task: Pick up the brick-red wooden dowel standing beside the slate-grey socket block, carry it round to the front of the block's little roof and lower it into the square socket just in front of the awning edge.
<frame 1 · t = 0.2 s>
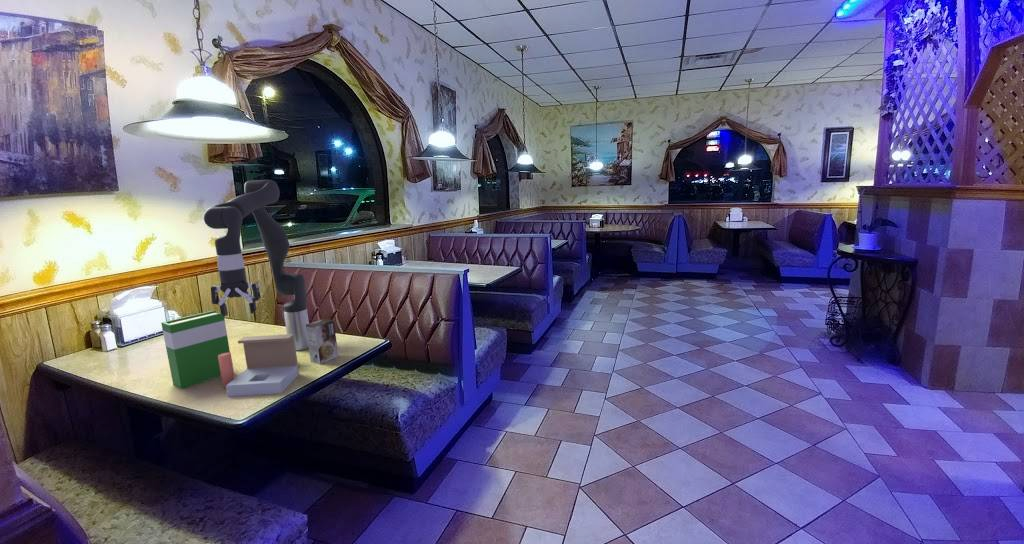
hand: (239, 314, 157), 28 cm above the table, fingers open, 8 cm apart
coffee box: (324, 360, 190), on the table
hardback book: (204, 378, 176), on the table
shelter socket: (265, 384, 167), on the table
peg: (229, 385, 168), on the table
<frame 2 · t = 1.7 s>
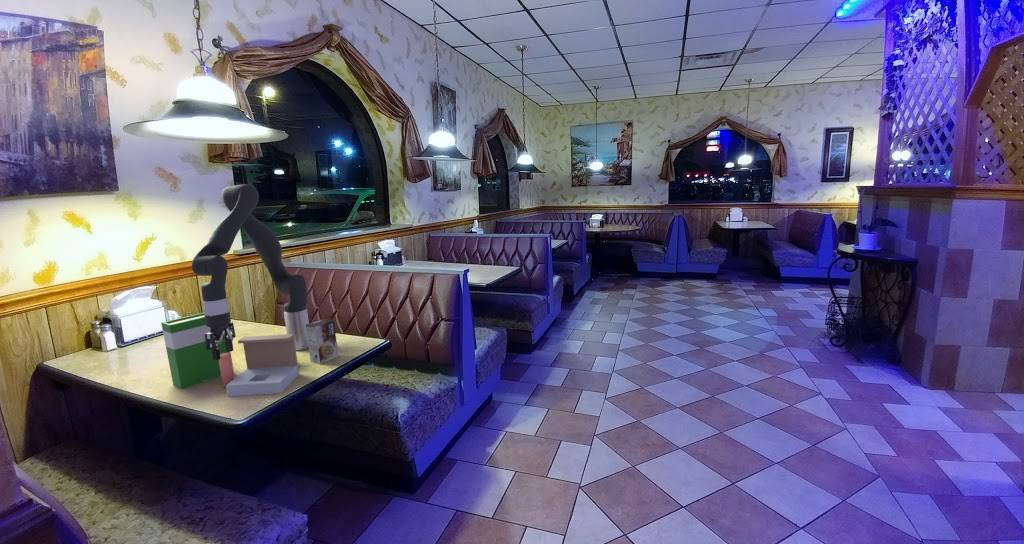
hand: (223, 355, 165), 12 cm above the table, fingers open, 8 cm apart
nothing on the table moved.
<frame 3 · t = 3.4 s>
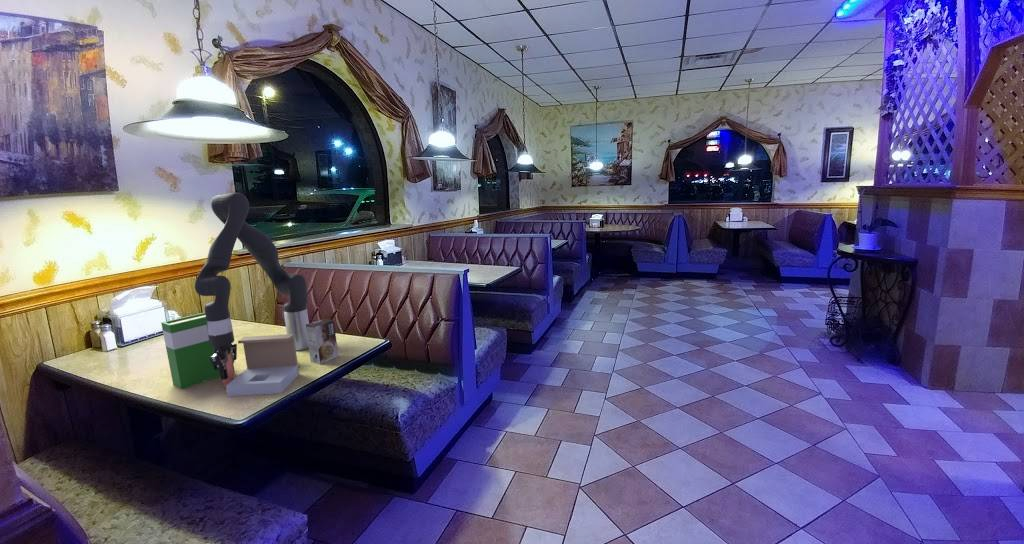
hand: (227, 376, 167), 4 cm above the table, fingers closed on peg, 4 cm apart
peg: (229, 385, 168), on the table, touching gripper
everything else where it was.
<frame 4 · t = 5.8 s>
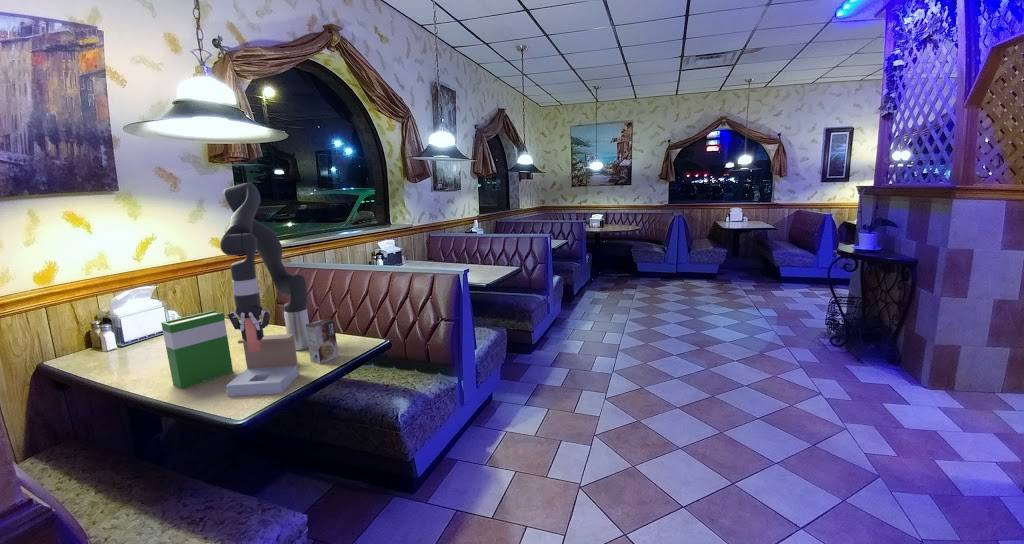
hand: (253, 339, 161), 18 cm above the table, fingers closed on peg, 4 cm apart
peg: (254, 350, 162), point 14 cm above the table, touching gripper
everything else where it was.
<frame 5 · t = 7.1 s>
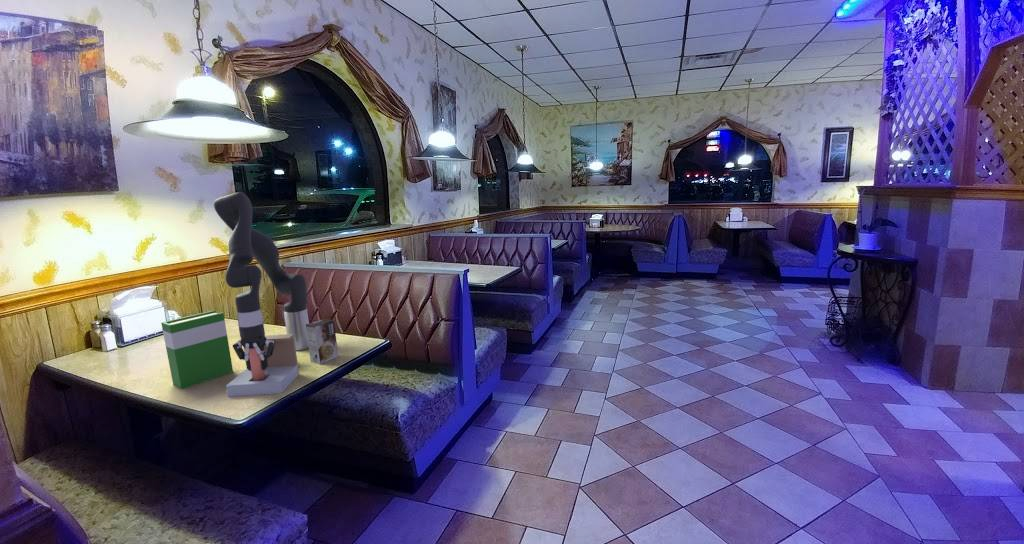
hand: (257, 369, 163), 7 cm above the table, fingers closed on peg, 4 cm apart
peg: (259, 379, 164), point 3 cm above the table, touching gripper
everything else where it was.
when the fingers open (6 cm above the table, at t = 8.1 s): peg drops 2 cm, resting in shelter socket.
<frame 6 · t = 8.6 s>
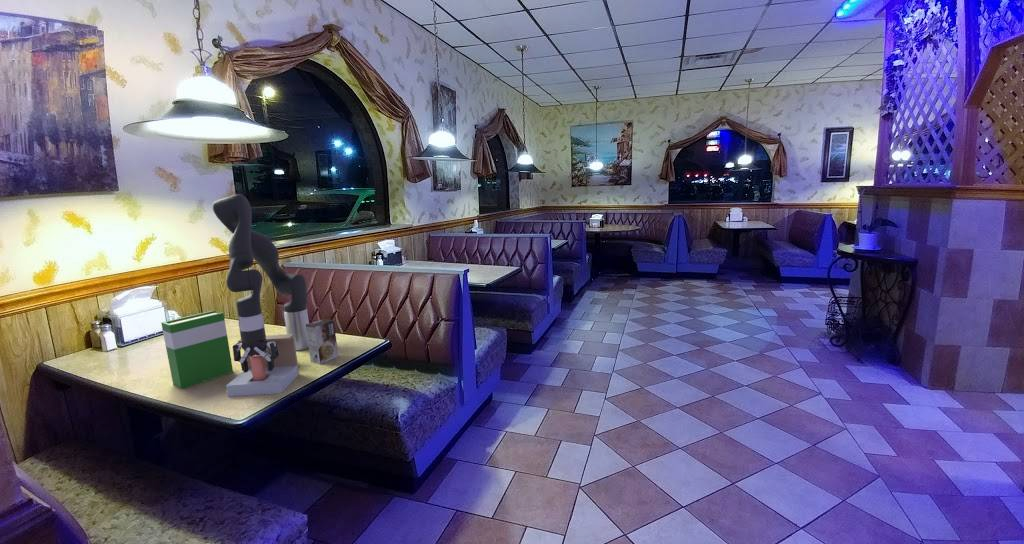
hand: (258, 371, 163), 7 cm above the table, fingers open, 8 cm apart
peg: (261, 388, 164), resting in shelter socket
everything else where it was.
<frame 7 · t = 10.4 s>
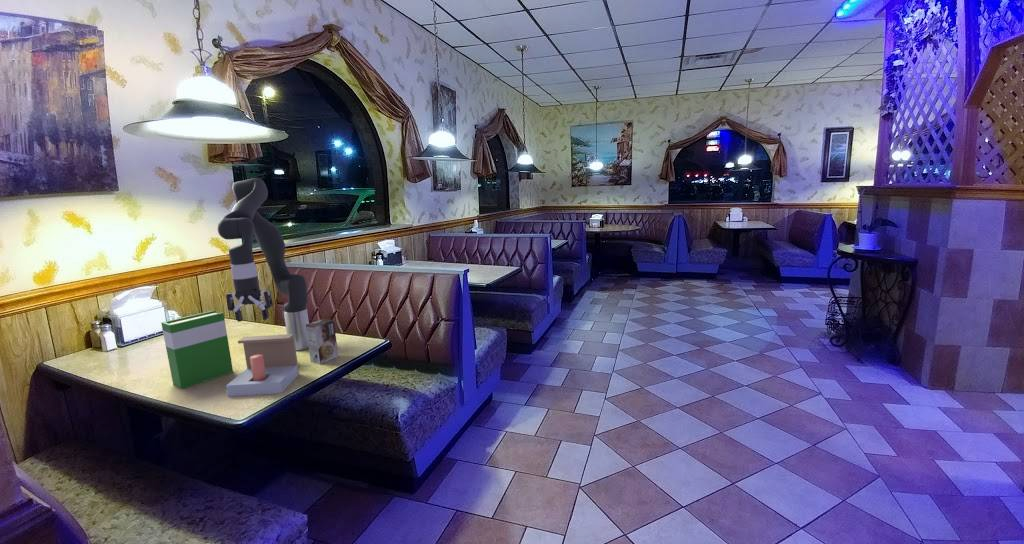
hand: (253, 320, 163), 24 cm above the table, fingers open, 8 cm apart
nothing on the table moved.
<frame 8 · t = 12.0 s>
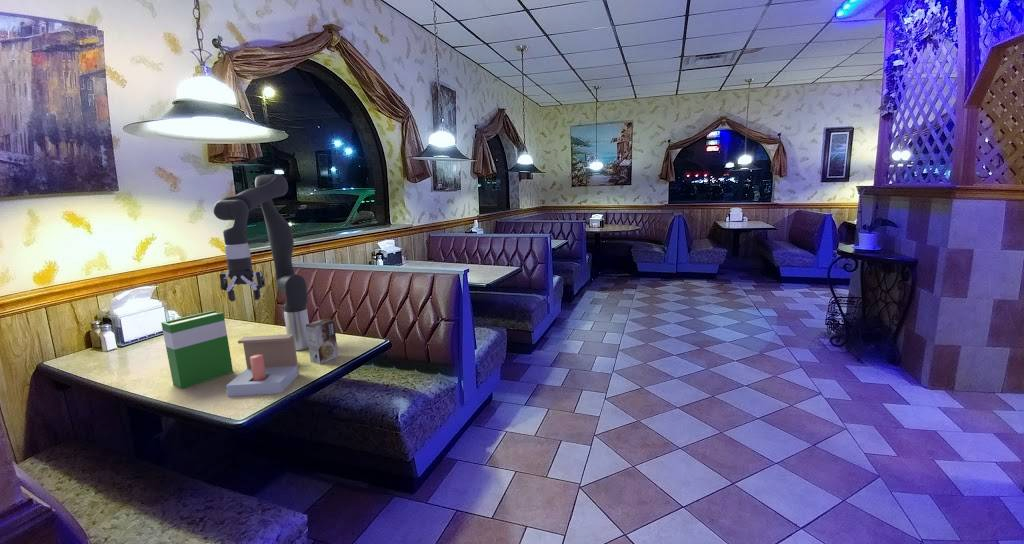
hand: (245, 300, 168), 30 cm above the table, fingers open, 8 cm apart
nothing on the table moved.
at the end: peg 0.0 cm from the target spot on the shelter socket, point 0.0 cm above the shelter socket's base; peg tilted 0°; the gripper is holding nothing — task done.
